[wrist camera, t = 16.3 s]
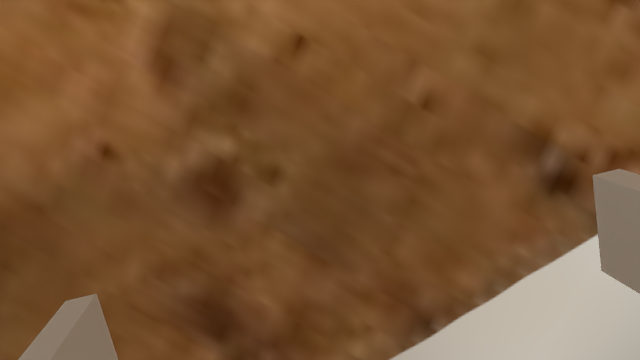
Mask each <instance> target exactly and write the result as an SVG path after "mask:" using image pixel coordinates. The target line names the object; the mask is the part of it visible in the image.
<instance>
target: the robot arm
mask: <svg viewBox="0 0 640 360" xmlns="http://www.w3.org/2000/svg"><path fill="white" fill-rule="evenodd" d="M593 185H594V196H595V206H596V217H597V227H598V238H599V248H600V258H601V268H602V271H603V272H605V273H606V274H608V275H610V276H611V277H613V278H615V279H616V280H618V281H620V282H621V283H623V284H625V285H626V286H628V287H630V288H631V289H633V290H635V291H636V292H638V293H640V175H639V174H636V173H632V172H629V171H625V170H622V169H617V170H613V171H609V172H605V173H601V174H596V175H593ZM18 360H118V357H117V354H116V351H115V348H114V345H113V342H112V339H111V336H110V333H109V330H108V327H107V324H106V321H105V318H104V315H103V312H102V309H101V306H100V303H99V300H98V297H97V294H93V295H88V296H84V297H80V298H76V299H72V300H67V301H65V302H64V304H63V305H62V306H61V307H60V308H59V310H58V311H57V312H56V313H55V315H54V316H53V317H52V318H51V320H50V321H49V322H48V323H47V325H46V326H45V327H44V328H43V330H42V331H41V332H40V333H39V334H38V336H37V337H36V338H35V339H34V341H33V342H32V343H31V344H30V346H29V347H28V348H27V349H26V351H25V352H24V353H23V354H22V356H21V357H20V358H19V359H18Z"/></svg>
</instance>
